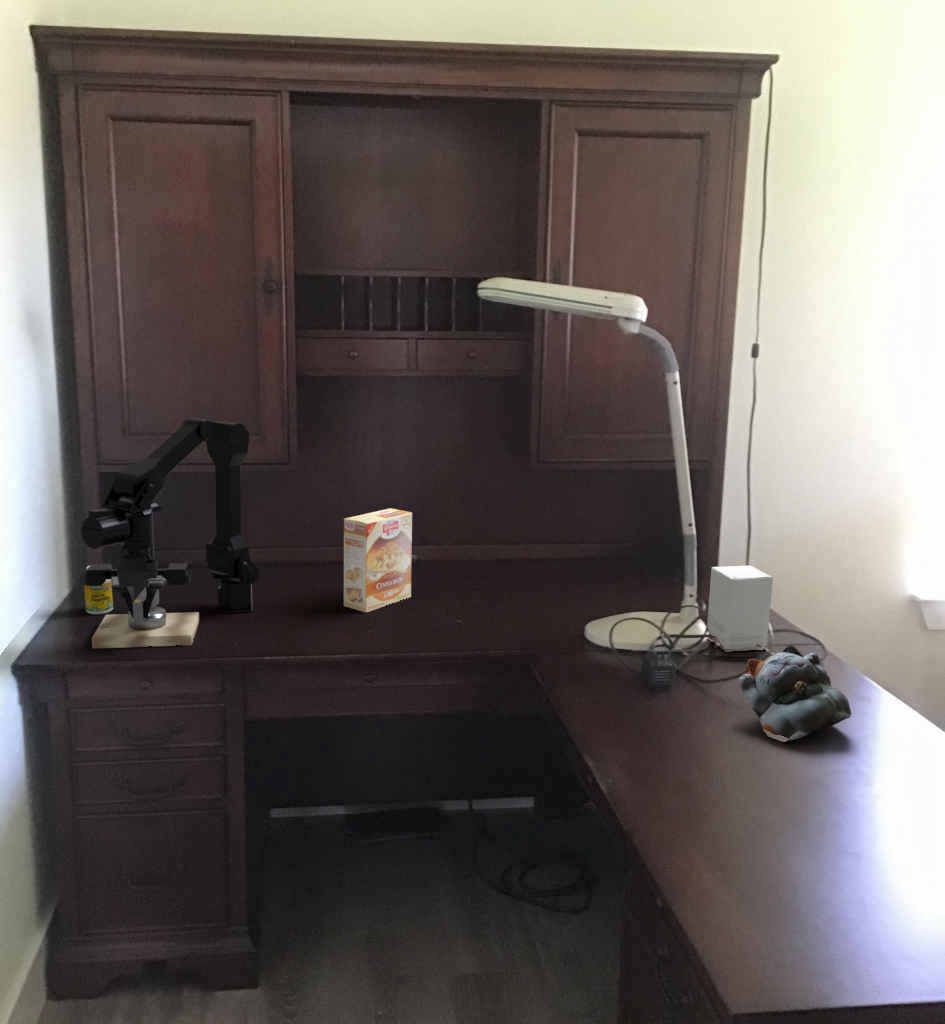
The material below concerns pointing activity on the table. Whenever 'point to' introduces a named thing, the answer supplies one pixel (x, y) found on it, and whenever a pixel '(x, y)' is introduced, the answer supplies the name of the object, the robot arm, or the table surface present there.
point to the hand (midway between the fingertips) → (140, 618)
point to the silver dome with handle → (139, 621)
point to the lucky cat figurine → (793, 694)
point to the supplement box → (739, 606)
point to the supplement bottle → (99, 598)
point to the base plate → (146, 632)
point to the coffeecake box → (377, 559)
